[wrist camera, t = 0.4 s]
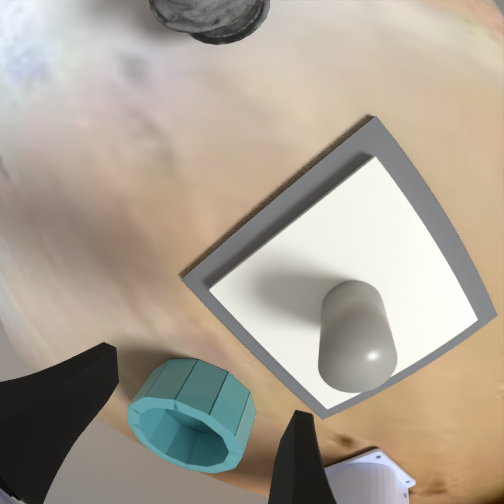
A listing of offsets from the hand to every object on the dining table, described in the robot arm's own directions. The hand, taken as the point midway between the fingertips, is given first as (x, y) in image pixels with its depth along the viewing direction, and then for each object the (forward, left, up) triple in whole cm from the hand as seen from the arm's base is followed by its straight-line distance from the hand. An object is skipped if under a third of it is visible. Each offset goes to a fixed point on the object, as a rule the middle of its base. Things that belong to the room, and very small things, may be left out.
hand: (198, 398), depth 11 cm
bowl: (-5, +11, -10) cm, 15 cm away
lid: (-4, -4, -9) cm, 11 cm away
